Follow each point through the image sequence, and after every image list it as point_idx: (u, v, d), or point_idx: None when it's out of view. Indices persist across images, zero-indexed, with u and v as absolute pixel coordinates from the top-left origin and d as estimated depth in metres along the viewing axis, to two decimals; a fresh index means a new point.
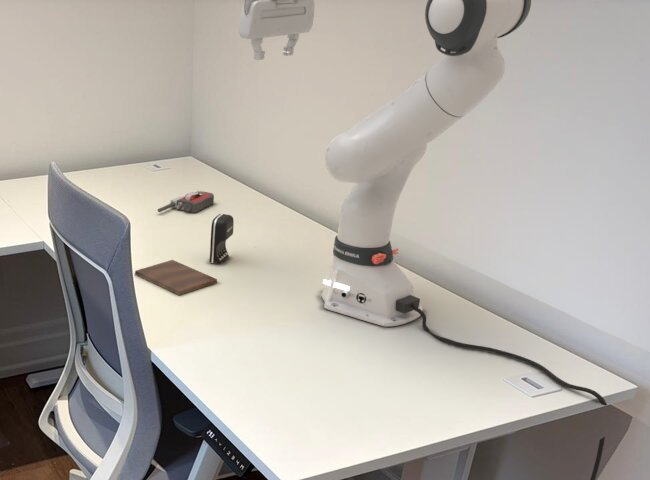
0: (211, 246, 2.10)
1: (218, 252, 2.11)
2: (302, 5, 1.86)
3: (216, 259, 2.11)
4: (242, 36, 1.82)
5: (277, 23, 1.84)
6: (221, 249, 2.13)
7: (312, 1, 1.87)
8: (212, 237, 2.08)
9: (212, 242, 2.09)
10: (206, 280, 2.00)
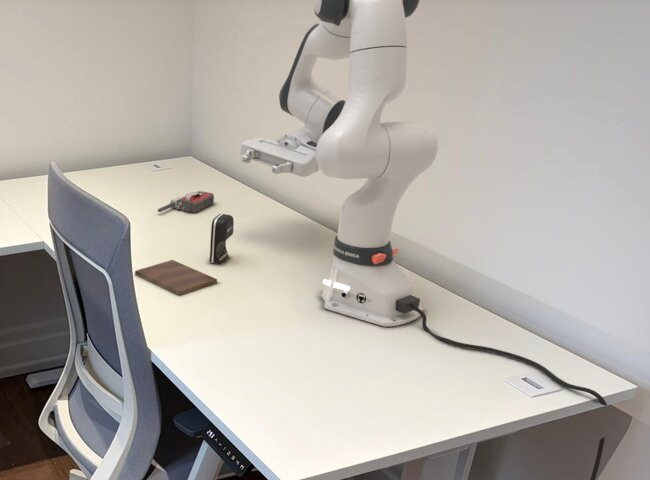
0: (211, 246, 2.10)
1: (218, 252, 2.11)
2: (304, 152, 2.10)
3: (216, 259, 2.11)
4: (241, 151, 2.17)
5: (272, 148, 2.12)
6: (221, 249, 2.13)
7: (314, 151, 2.08)
8: (212, 237, 2.08)
9: (212, 242, 2.09)
10: (206, 280, 2.00)
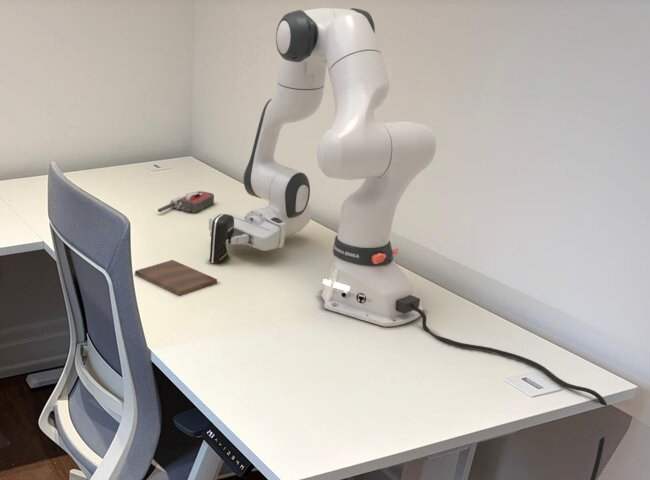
0: (211, 246, 2.10)
1: (218, 252, 2.11)
2: (267, 227, 2.12)
3: (216, 259, 2.11)
4: None
5: (237, 222, 2.15)
6: (221, 249, 2.13)
7: (277, 227, 2.10)
8: (212, 237, 2.08)
9: (212, 242, 2.09)
10: (206, 280, 2.00)
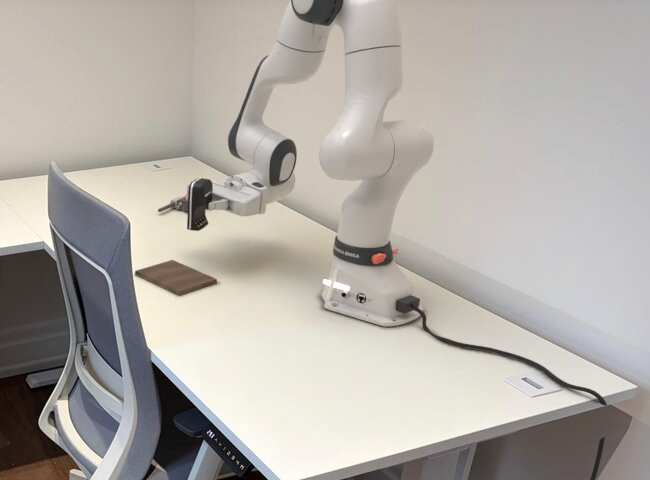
0: (188, 212, 1.99)
1: (196, 218, 2.00)
2: (247, 192, 2.00)
3: (194, 226, 2.00)
4: None
5: (216, 188, 2.04)
6: (200, 216, 2.02)
7: (257, 192, 1.99)
8: (189, 202, 1.97)
9: (189, 207, 1.98)
10: (206, 280, 2.00)
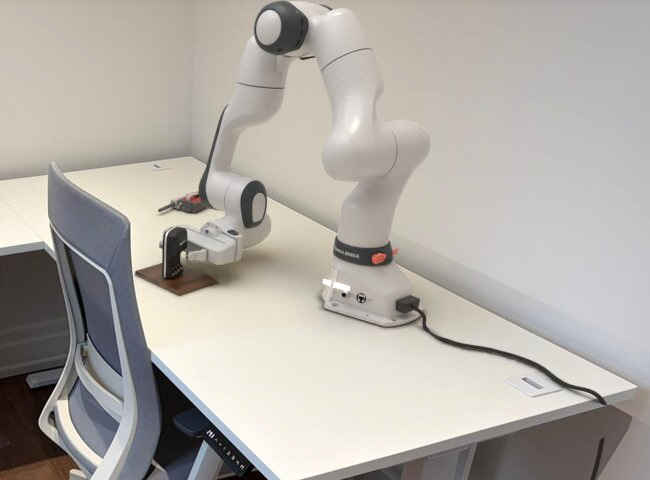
0: (162, 260, 1.99)
1: (171, 267, 2.00)
2: (223, 240, 2.00)
3: (168, 274, 2.00)
4: None
5: (192, 235, 2.04)
6: (175, 263, 2.02)
7: (233, 240, 1.98)
8: (163, 251, 1.97)
9: (164, 256, 1.98)
10: (206, 280, 2.00)
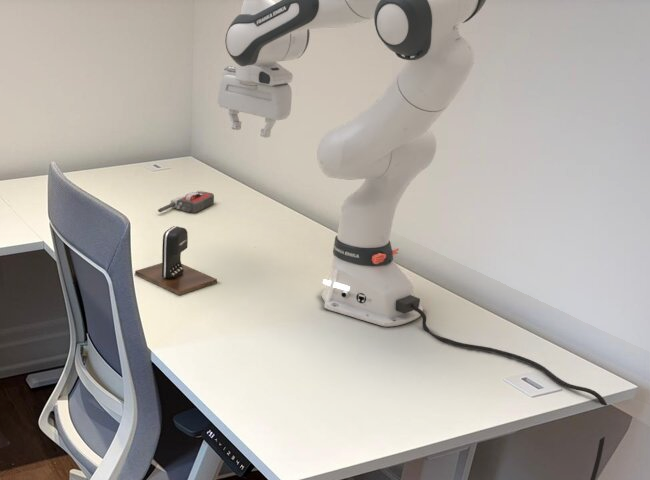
0: (163, 260, 1.99)
1: (171, 267, 2.00)
2: (266, 91, 1.89)
3: (168, 274, 2.00)
4: None
5: (241, 100, 1.96)
6: (175, 263, 2.02)
7: (273, 90, 1.87)
8: (164, 251, 1.97)
9: (164, 256, 1.98)
10: (206, 280, 2.00)
